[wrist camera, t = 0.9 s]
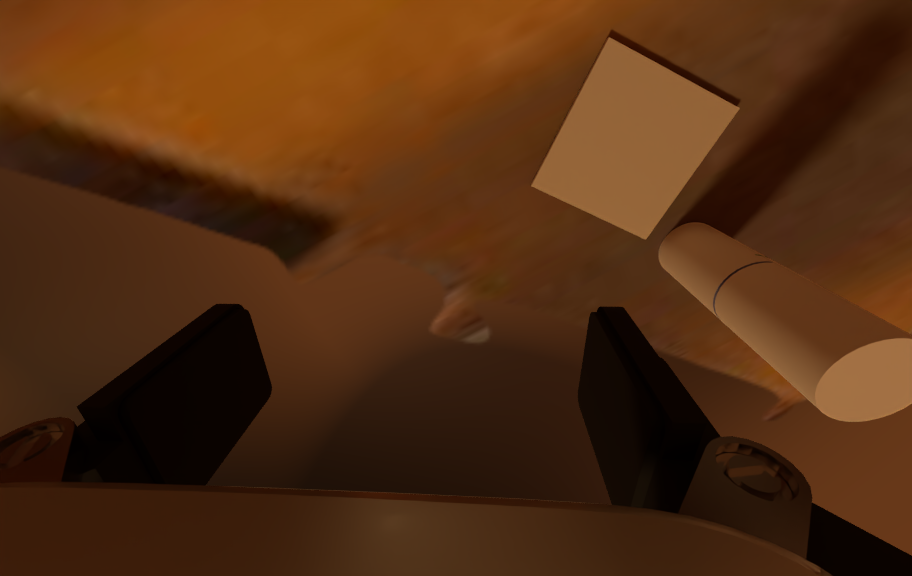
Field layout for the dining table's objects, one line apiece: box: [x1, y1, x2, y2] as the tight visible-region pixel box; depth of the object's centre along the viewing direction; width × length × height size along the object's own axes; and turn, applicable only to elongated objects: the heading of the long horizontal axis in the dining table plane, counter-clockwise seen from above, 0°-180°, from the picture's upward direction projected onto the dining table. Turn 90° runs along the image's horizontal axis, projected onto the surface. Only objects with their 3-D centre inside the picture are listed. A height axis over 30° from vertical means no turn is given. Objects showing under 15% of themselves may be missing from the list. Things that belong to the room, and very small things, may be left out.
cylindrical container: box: [659, 222, 912, 422], centre depth 36 cm, size 7×7×25 cm
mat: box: [530, 37, 740, 240], centre depth 42 cm, size 16×16×1 cm
